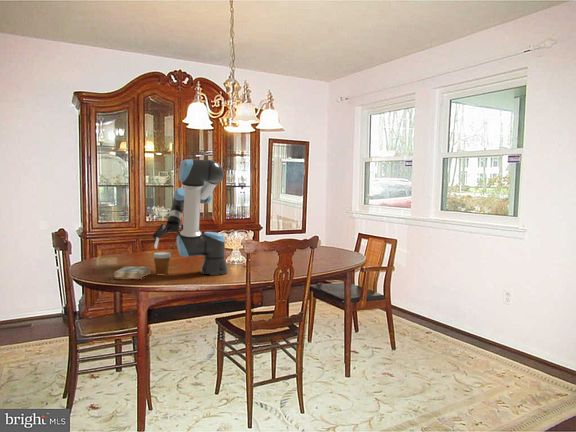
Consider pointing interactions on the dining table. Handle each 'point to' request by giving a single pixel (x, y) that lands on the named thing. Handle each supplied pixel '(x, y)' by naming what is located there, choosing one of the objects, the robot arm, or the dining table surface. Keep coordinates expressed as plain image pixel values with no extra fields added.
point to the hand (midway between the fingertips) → (166, 247)
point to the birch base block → (132, 272)
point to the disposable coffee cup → (162, 262)
